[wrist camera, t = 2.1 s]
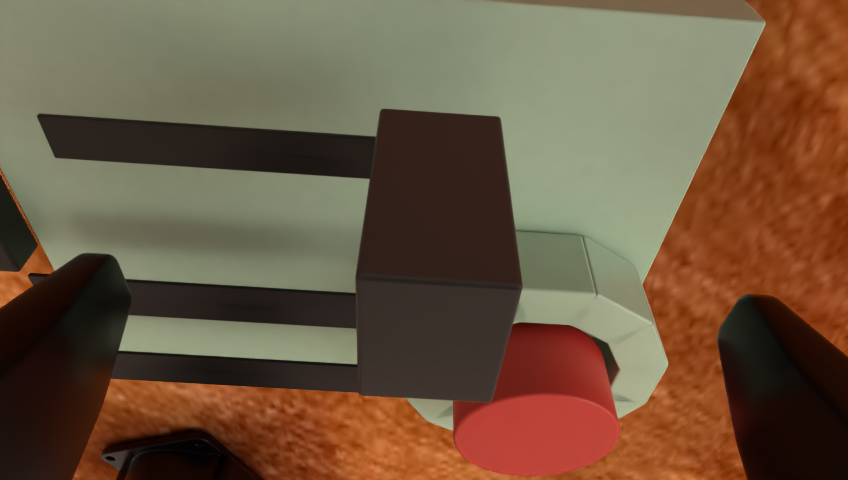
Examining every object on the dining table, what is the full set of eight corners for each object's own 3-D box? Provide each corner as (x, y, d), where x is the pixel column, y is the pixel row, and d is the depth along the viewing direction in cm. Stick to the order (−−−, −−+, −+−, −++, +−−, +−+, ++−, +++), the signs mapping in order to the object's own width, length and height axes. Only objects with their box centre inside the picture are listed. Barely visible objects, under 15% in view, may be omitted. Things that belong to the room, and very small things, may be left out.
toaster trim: (496, 88, 12) (504, 148, 11) (455, 336, 18) (456, 398, 16) (-148, 42, 12) (-236, 97, 10) (21, 310, 17) (-20, 371, 16)
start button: (622, 323, 15) (643, 400, 13) (581, 408, 17) (595, 481, 16) (460, 313, 14) (462, 390, 13) (445, 401, 17) (446, 472, 16)
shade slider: (501, 115, 10) (524, 287, 7) (481, 230, 12) (492, 404, 9) (379, 106, 10) (354, 276, 7) (377, 224, 11) (357, 397, 9)
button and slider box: (718, -49, 14) (844, 76, 10) (585, 299, 22) (619, 448, 18) (6, -104, 13) (-203, -1, 9) (147, 272, 22) (73, 418, 18)
